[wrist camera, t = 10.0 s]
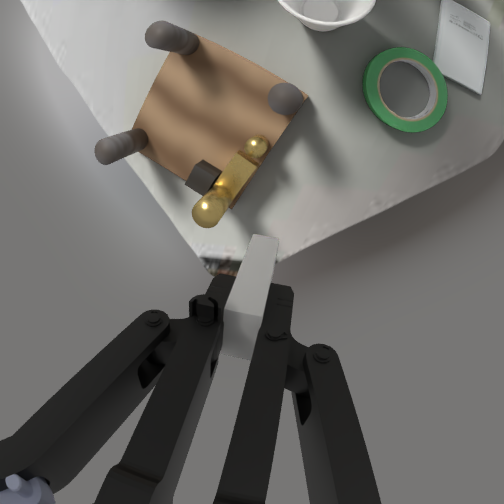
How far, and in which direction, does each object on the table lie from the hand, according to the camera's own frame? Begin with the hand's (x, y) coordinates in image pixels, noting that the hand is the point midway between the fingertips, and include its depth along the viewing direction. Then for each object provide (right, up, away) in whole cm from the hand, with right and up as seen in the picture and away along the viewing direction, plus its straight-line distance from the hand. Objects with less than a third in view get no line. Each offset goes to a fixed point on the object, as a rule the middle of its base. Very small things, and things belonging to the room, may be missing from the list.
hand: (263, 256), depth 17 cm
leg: (-2, +11, +20) cm, 22 cm away
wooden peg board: (-6, +18, +19) cm, 27 cm away
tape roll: (+19, +21, +13) cm, 31 cm away
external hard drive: (+28, +28, +8) cm, 40 cm away
